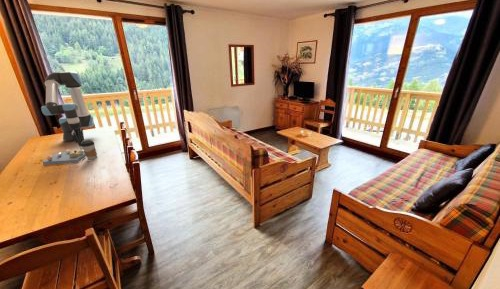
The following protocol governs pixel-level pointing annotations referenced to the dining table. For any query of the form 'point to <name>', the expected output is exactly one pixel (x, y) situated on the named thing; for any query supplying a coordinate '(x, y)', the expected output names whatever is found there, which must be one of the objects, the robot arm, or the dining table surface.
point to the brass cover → (75, 153)
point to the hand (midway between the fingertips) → (82, 149)
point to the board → (64, 159)
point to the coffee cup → (89, 150)
